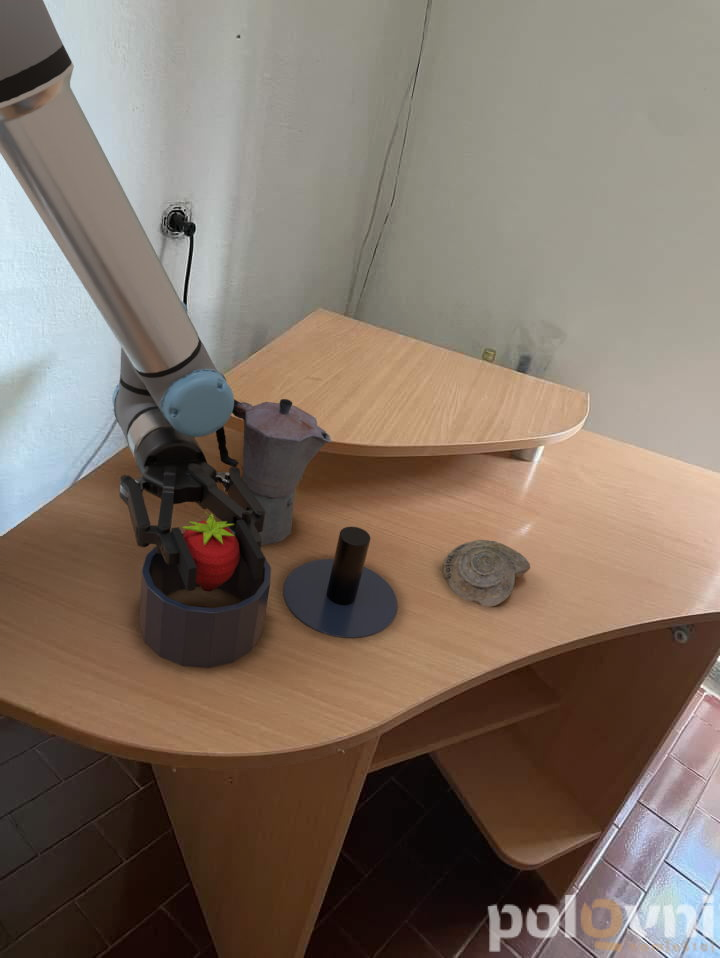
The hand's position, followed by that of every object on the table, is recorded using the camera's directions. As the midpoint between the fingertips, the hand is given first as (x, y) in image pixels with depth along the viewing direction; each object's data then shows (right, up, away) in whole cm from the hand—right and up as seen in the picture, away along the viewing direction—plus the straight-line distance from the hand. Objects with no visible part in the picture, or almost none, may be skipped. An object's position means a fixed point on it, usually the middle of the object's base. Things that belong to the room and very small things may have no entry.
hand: (226, 573), depth 67 cm
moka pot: (-1, +2, +27) cm, 27 cm away
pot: (-5, -7, +10) cm, 13 cm away
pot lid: (+10, -5, +18) cm, 21 cm away
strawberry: (-4, -3, +7) cm, 8 cm away
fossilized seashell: (+29, -5, +27) cm, 40 cm away
